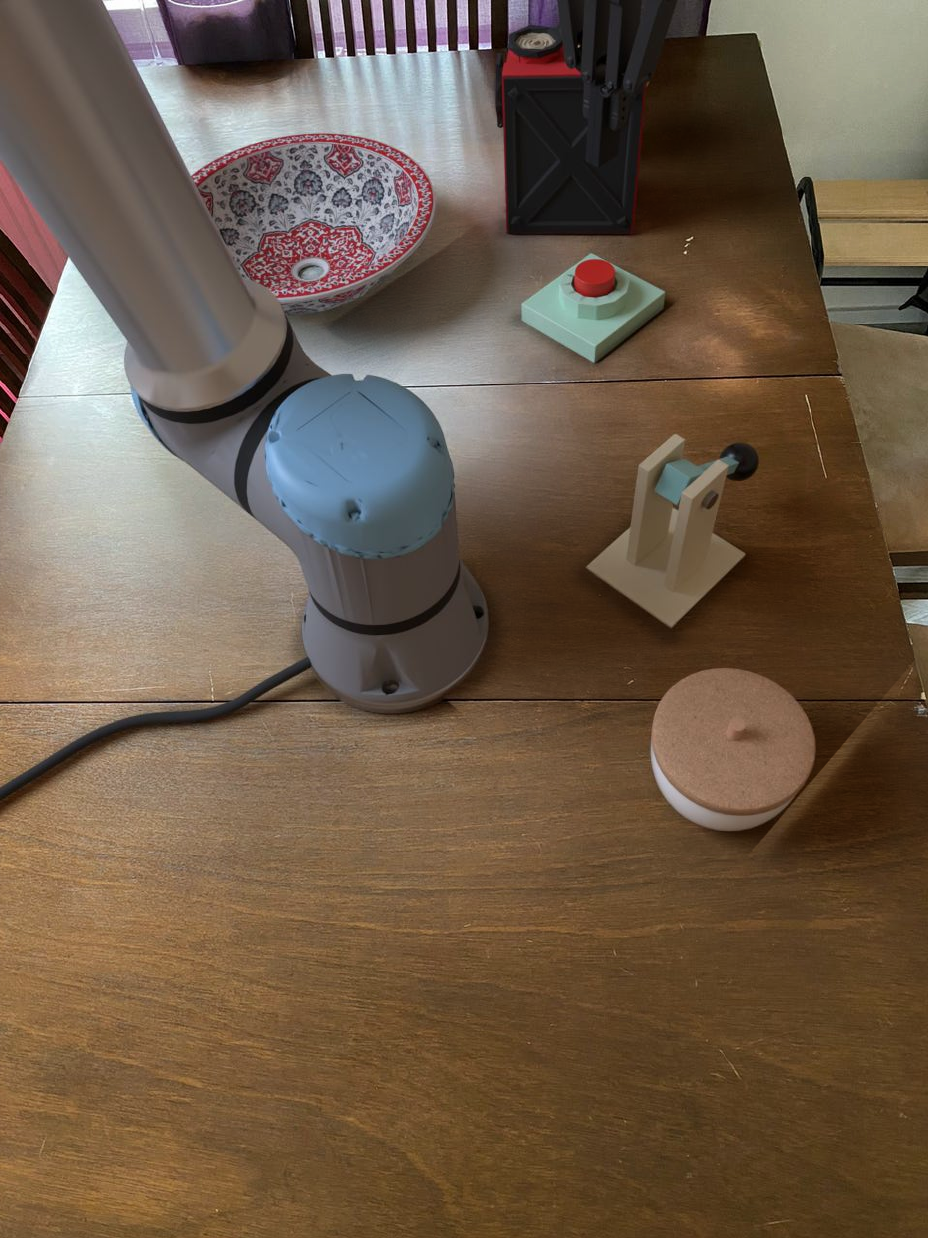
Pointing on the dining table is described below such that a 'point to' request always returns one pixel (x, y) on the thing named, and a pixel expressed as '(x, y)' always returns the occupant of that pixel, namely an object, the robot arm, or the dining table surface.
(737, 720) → the trinket box
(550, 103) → the black and red jerrycan
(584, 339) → the button box
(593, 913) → the dining table surface
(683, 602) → the bracket
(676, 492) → the switch
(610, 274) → the button
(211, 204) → the ceramic bowl
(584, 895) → the dining table surface
